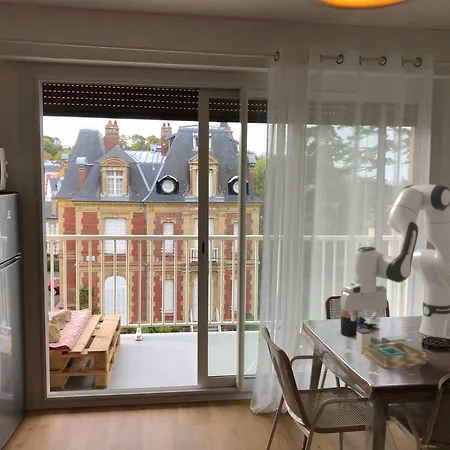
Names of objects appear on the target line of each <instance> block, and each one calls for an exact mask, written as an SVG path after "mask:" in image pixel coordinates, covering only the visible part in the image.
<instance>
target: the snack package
mask: <svg viewBox="0 0 450 450" xmlns="http://www.w3.org/2000/svg"><path fill="white" fill-rule="evenodd" d="M373 327H377V323H370V322H369V323H368V322H367V320H366V318H365V317H363V316H361V315H360V316H359V315H358V323H357V329H364V328H365V329H367V330H369V329H371V328H373Z"/></svg>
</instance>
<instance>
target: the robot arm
mask: <svg viewBox="0 0 450 450" xmlns="http://www.w3.org/2000/svg"><path fill="white" fill-rule="evenodd" d="M449 205H450V189H449V187H448V186H446V185H443V184H429V183H425V184H415V185H414V184H410V185H407V186H404V187H403V189H401V191H400V193H399V194H398V195H397V197H396V199H395V200H394V202H393V204H392V205H391V208H390V210H389V213H388V216H387V221H388V224H389V225H390V227H391V228H392V229H393V230H395V232H397V233H399V234H401V242H400V246H399V250H398V253H397V254H396V255H395V256H394V255H387V254H383V253H380V252H379V251H377V248H376V247H373V246H363V247H359V248H358V249H357V250H356V252H355V256H354V277H353V281H351V282H348V283H345V284H344V285H343V286H342V291H344V292H343V293H342V292H341V294H342V295H340V303H339V304H340V309H341V308H342V309H343V310H345V311H349V314H350V316H351V321H356V317H355V316H354V314H353V313H354V310H358V311H366V310H367V311H368V310H369V311H370V310H373V312H372V314H370V319H371V320H374V321H375V320H377V316H378V313H379V312H380V310H382V309H383V310H385V309H387V307H388V297H387V288H386V287H385V286H383V285H380V286H378V285H377V278H380V279H385V280H389V281H392V282H395V283H398V284H399V283H403V282H404V281H405V280H407V279H408V278H409V276H410V274H411V271H412V268H413V269H414V270H415V271H416V272H417V273H418V275H419V276H420V278H421V281H422V284H423V295H424V296H423V302H422V312H423V313H422V318H421V323H420V327H419V328H418V332H419V333H421V334H422V335H424V336H428V337H433V338H439V339H440V338H442V339H447V340H450V286H449V284H448V283H446V282H445V281H444V280H442V279H443V278H441V276H440V275H442V276H450V206H449ZM420 210H423V211H424V212H423V213H424V214H423V227H424V238H425V240H426V241H427V242H428V243H430V244H432V245H433V246H434V248H435V249H430V248H422V249H420V248H419V249H416V246H417V245H416V244H417V242H418V241H417V240H418V237H419V236H418V235H419V227H418V224H417V218H418V216H419V213H420ZM415 249H416V250H415Z"/></svg>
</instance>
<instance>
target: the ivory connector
mask: <svg viewBox="0 0 450 450" xmlns="http://www.w3.org/2000/svg"><path fill="white" fill-rule="evenodd" d="M355 337H356V343H355V344H356V345H355V351H357V352H358V353H360V354H364V346H367V345H371V340H372V339H371V337H372V332H371V330H369V329H365V328H364V329H358V328H357V335H356V336H355Z"/></svg>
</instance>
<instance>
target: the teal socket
mask: <svg viewBox="0 0 450 450" xmlns="http://www.w3.org/2000/svg"><path fill="white" fill-rule="evenodd" d="M378 352H379V353H381V354H383V355H384V356H386V357H388V356H397V355H406V353H405V352H403V351H401V350H399V349H397V348H395V347H387V348H378Z"/></svg>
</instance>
